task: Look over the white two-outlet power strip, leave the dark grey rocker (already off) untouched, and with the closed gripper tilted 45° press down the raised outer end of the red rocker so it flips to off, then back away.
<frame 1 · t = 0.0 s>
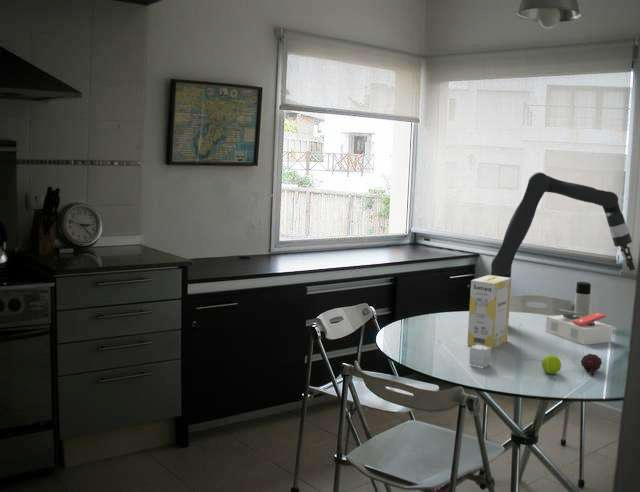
hand: (631, 268, 325), 31 cm above the table, tool tilted 20°, fingers open, 8 cm apart
power strip: (577, 336, 327), on the table
pasta box: (487, 343, 311), on the table
rocker A: (569, 312, 331), point 9 cm above the table, hinge at 12.0°
tennis ball: (550, 374, 271), on the table
icecream: (590, 371, 276), on the table
rocker B: (589, 319, 320), point 9 cm above the table, hinge at -12.0°
skincare box: (479, 366, 278), on the table
spray can: (580, 323, 352), on the table
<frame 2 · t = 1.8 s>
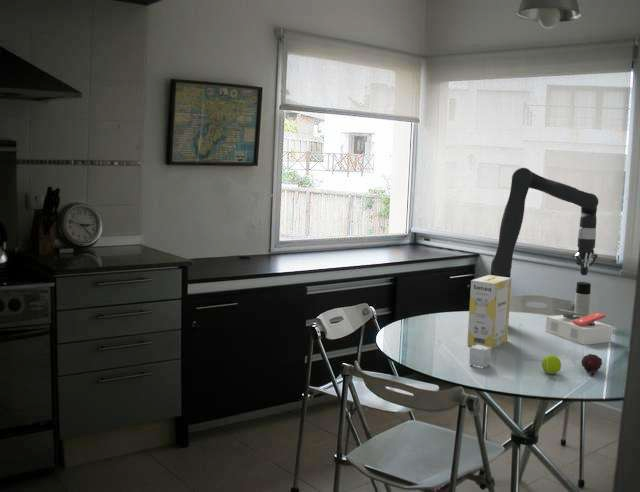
hand: (583, 274, 330), 27 cm above the table, tool pointing down, fingers closed
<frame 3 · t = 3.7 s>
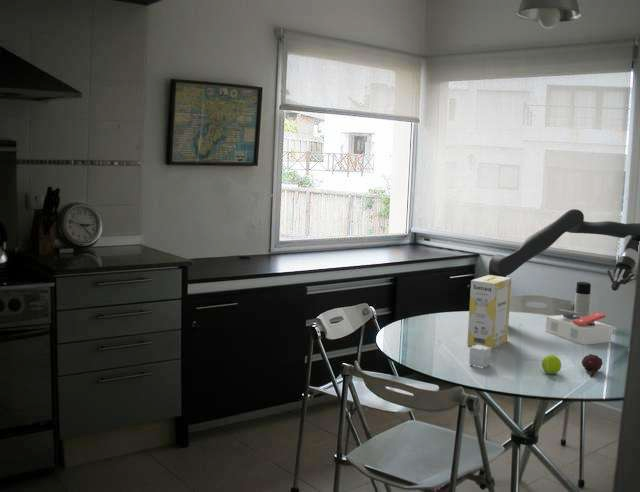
hand: (613, 289, 329), 21 cm above the table, tool tilted 45°, fingers closed
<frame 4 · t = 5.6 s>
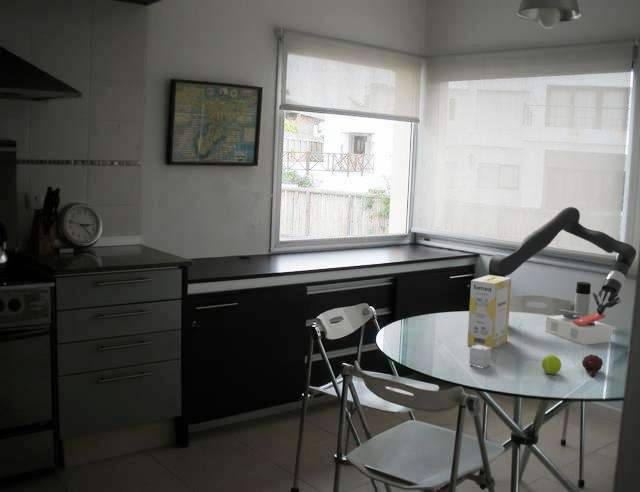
hand: (599, 313, 321), 12 cm above the table, tool tilted 45°, fingers closed
rocker B: (589, 319, 320), point 9 cm above the table, hinge at -11.8°, touching gripper
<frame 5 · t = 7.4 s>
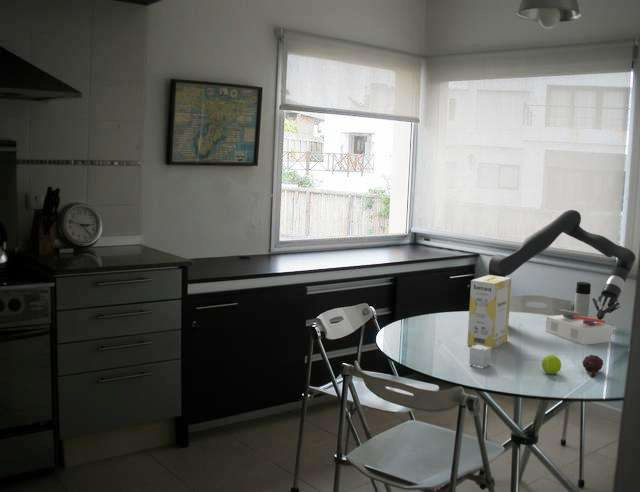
hand: (599, 318, 322), 9 cm above the table, tool tilted 45°, fingers closed
rocker B: (589, 319, 320), point 9 cm above the table, hinge at 11.8°, touching gripper
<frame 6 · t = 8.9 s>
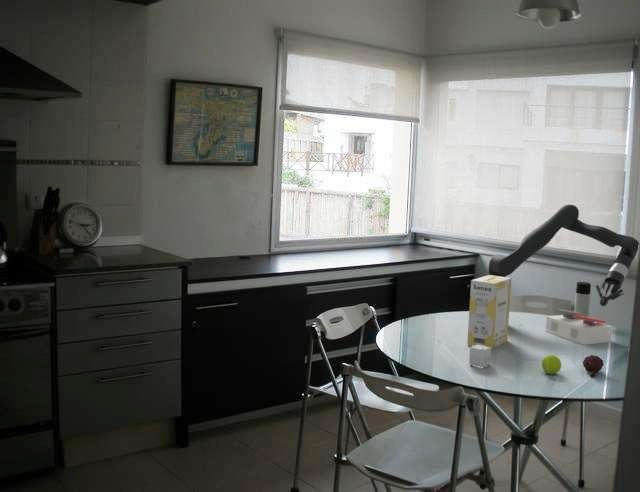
hand: (602, 305, 323), 15 cm above the table, tool tilted 45°, fingers closed
rocker B: (589, 319, 320), point 9 cm above the table, hinge at 12.1°
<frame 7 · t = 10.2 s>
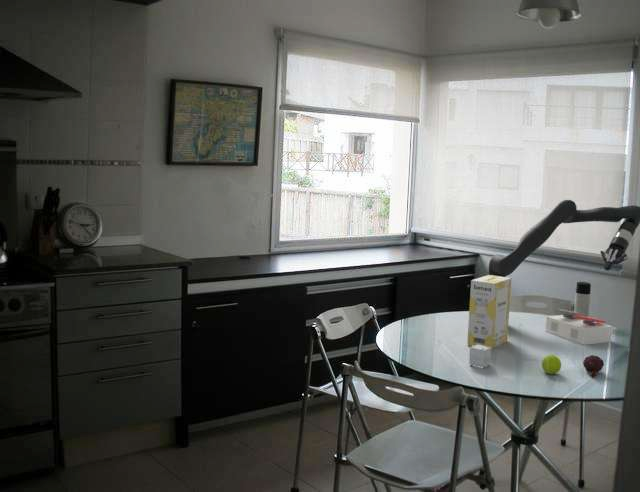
hand: (606, 269, 330), 30 cm above the table, tool tilted 45°, fingers closed
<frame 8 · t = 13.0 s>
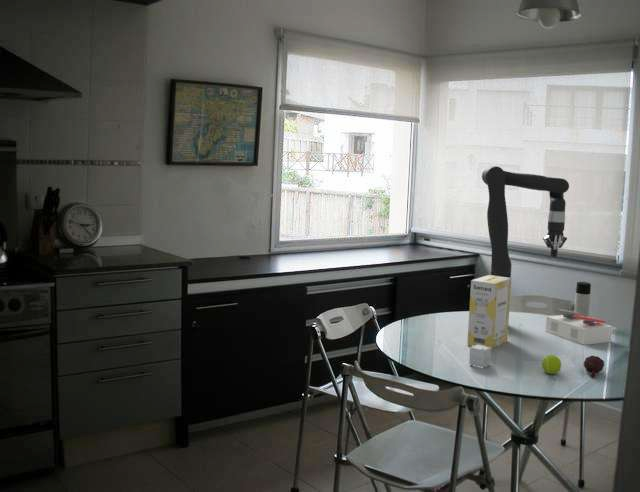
hand: (553, 256, 342), 33 cm above the table, tool pointing down, fingers closed
at the end: rocker B at +12° (first picture: -12°); rocker A at +12° (first picture: +12°) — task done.
